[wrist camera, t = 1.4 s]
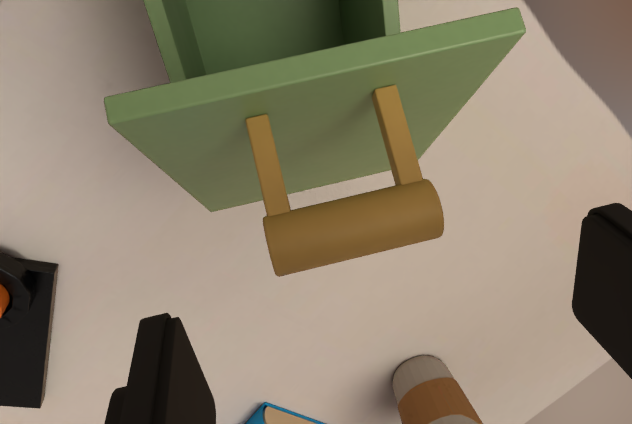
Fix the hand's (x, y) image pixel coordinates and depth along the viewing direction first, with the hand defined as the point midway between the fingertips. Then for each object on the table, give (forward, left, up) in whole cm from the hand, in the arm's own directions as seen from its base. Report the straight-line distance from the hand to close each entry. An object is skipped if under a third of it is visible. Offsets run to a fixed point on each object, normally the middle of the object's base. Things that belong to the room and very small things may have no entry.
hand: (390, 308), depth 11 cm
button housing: (+4, -34, -28) cm, 44 cm away
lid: (0, 0, -11) cm, 11 cm away
